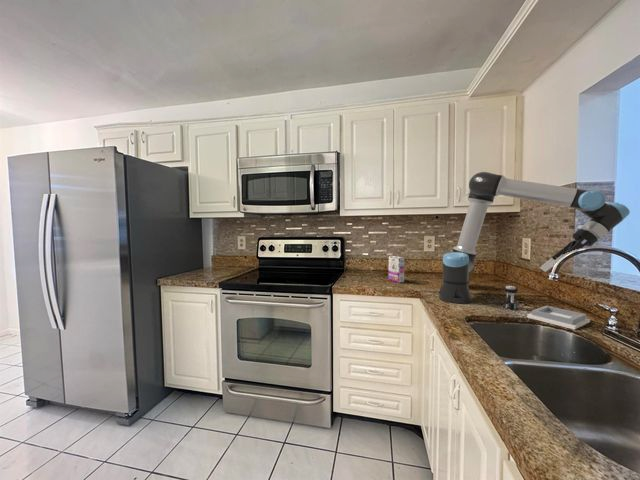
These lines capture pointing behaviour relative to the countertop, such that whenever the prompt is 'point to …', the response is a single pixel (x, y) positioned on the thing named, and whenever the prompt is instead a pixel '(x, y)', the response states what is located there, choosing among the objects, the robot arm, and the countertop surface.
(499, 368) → the countertop surface
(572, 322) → the tray
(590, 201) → the robot arm
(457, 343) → the countertop surface
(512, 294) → the push button
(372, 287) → the countertop surface
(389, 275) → the candy bar box
